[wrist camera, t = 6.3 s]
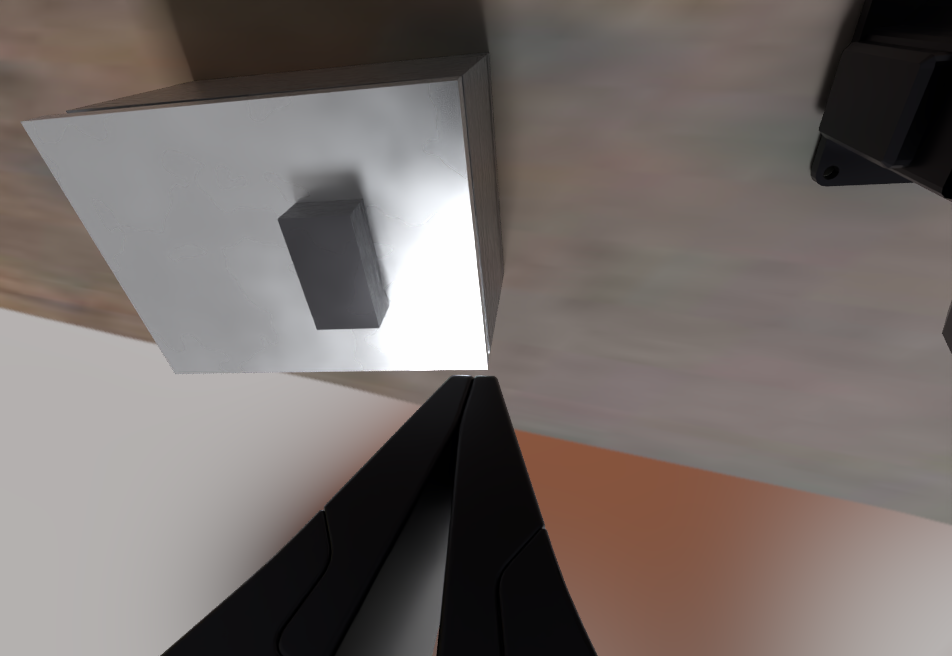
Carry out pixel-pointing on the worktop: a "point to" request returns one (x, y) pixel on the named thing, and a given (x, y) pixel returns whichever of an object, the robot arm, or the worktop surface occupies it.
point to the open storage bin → (466, 66)
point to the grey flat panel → (286, 225)
